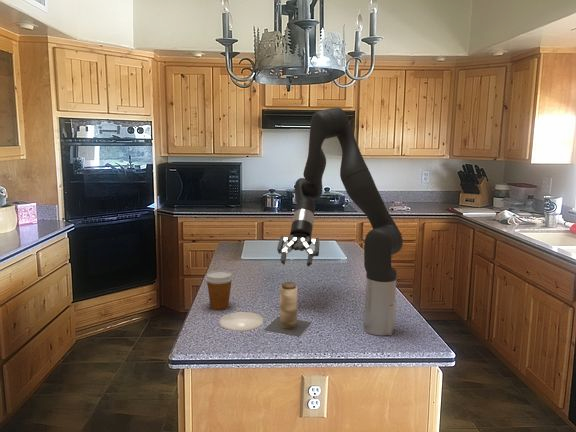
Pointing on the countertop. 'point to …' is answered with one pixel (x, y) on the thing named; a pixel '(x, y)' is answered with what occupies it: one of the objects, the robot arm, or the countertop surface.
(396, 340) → the countertop surface
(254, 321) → the plate
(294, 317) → the pepper mill
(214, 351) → the countertop surface
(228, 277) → the disposable coffee cup
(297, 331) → the mat
